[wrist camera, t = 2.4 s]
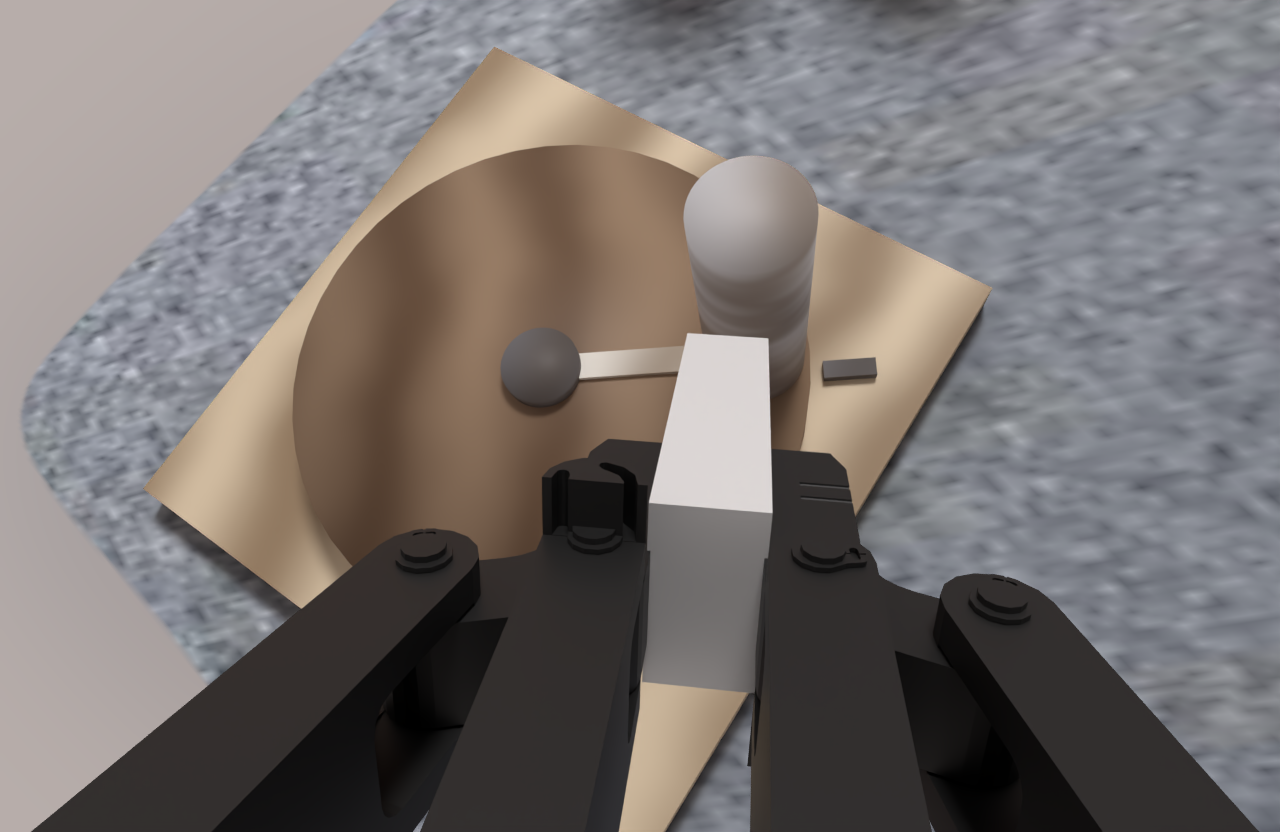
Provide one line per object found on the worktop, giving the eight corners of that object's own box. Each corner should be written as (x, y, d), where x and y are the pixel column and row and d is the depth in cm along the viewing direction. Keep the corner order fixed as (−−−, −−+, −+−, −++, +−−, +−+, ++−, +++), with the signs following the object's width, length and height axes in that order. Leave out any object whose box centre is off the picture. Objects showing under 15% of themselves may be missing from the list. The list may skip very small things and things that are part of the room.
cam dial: (292, 654, 35) (66, 617, 24) (337, 194, 41) (175, -6, 30) (830, 635, 33) (864, 584, 21) (788, 151, 39) (796, -84, 28)
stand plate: (984, 304, 38) (994, 283, 36) (647, 861, 33) (640, 869, 31) (502, 68, 45) (491, 40, 43) (165, 497, 40) (137, 486, 38)
